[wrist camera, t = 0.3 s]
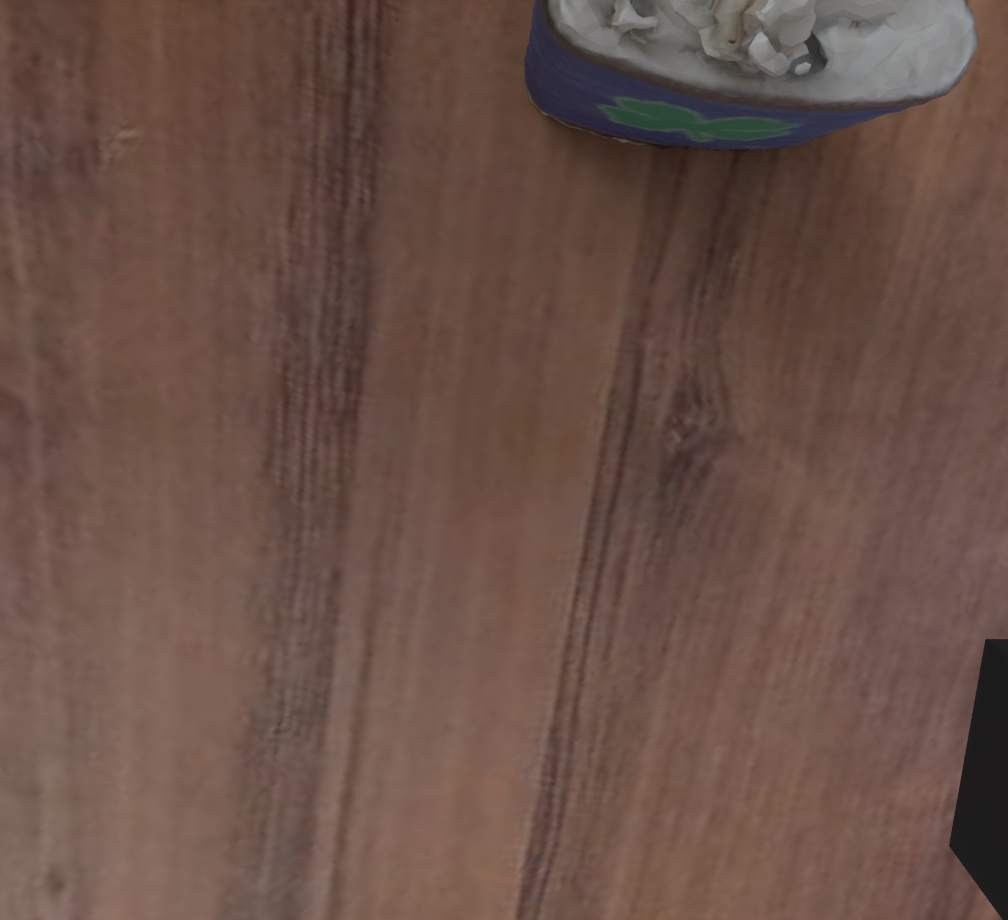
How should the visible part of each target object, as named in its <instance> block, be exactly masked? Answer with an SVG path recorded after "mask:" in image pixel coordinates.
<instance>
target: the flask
mask: <svg viewBox="0 0 1008 920" xmlns="http://www.w3.org/2000/svg"><path fill="white" fill-rule="evenodd" d="M977 47H978V36H977V32H976V28H975V20H974V16H973V13H972V10H971V9H970V7H969V6H968V3H967V0H536V1H535V4H534V8H533V17H532V29H531V30H530V38H529V44H528V47H527V53H526V56H525V77H526V86H527V89H528V92H529V97H530V101H531V102H532V103H533V104H534V105H535V106H536V107H537V108H538V109H539V110H540V111H541V112H542V113H543V114H544V115H545V116H551V117H553V118H555V119H556V120H557V121H558V122H560V123H562V124H564V125H566V126H568V127H570V128H574V127H575V128H576V129H577V130H584V131H589V132H590V133H594V134H595V135H599V136H600V137H602V138H606V139H609V138H613V139H616V140H618V141H620V142H622V143H625V142H628V143H630V144H634V145H636V146H637V145H640V144H641V145H648V146H651V147H654V148H661V149H664V148H668V147H669V148H674V147H676V148H678V147H681V148H686V149H700V148H701V149H707V150H709V149H713V150H718V151H719V150H720V149H726V150H727V149H729V150H733V149H734V151H738V150H740V151H747V150H751V149H752V150H763V149H766V150H767V151H768V149H776V148H789V147H793V146H797V145H800V144H803V143H805V142H808V141H809V140H811V139H813V138H817V137H821V136H825V135H827V134H829V133H832V132H834V131H836V130H839V129H842V128H847V127H851V126H853V125H855V124H857V123H860V122H864V121H868V120H871V119H874V118H877V117H879V116H882V115H885V114H887V113H893V112H899V111H902V110H904V109H906V108H909V107H911V106H916V105H921V104H924V103H926V102H929V101H931V100H933V99H935V98H938V97H941V96H943V95H946V94H947V93H948V92H949V91H951V90H952V89H953V88H954V87H956V86H957V85H958V84H959V82H960V81H961V79H962V78H963V76H964V74H965V73H966V71H967V69H968V67H969V65H970V63H971V60H972V58H973V56H974V54H975V52H976V49H977Z"/></svg>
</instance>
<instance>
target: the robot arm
mask: <svg viewBox="0 0 1008 920" xmlns="http://www.w3.org/2000/svg"><path fill="white" fill-rule="evenodd" d="M949 846H950V848H951V849H952V850H953V852H954V853H955V855H956V856H957V857H958V859H959V860H960V861H961V863H962V864H963V866H964V867H965V868H966V870H967V871H968V872H969V874H970V875H971V877H972V878H973V879H974V881H975V882H976V883H977V885H978V886H979V888H980V889H981V890H982V892H983V893H984V895H985V896H986V897H987V899H988V900H989V901H990V903H991V904H992V906H993V907H994V908H995V910H996V911H997V912H998V914H999V915H1000V917H1001V918H1002V919H1003V920H1008V639H986V640H985V646H984V651H983V657H982V663H981V668H980V674H979V680H978V685H977V691H976V697H975V702H974V708H973V714H972V719H971V725H970V731H969V736H968V742H967V748H966V753H965V759H964V765H963V770H962V776H961V782H960V787H959V793H958V799H957V804H956V810H955V816H954V821H953V827H952V833H951V838H950V844H949Z"/></svg>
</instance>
